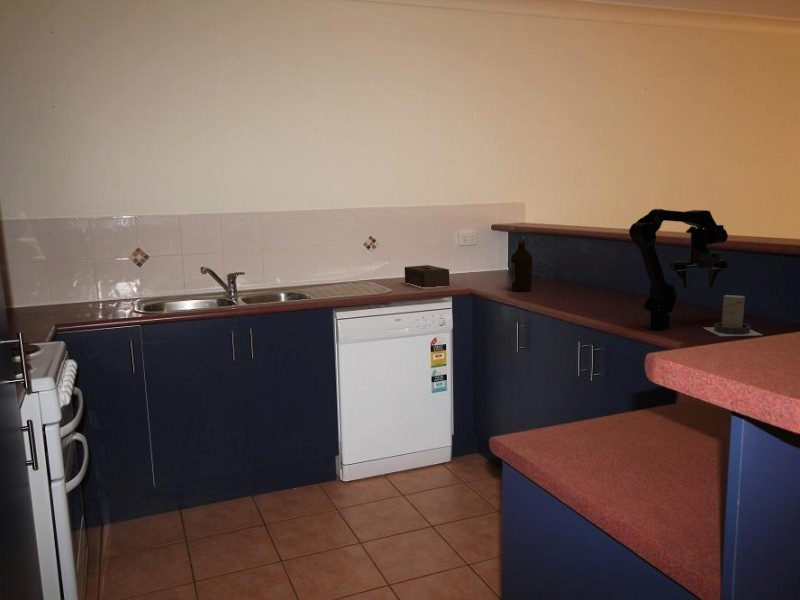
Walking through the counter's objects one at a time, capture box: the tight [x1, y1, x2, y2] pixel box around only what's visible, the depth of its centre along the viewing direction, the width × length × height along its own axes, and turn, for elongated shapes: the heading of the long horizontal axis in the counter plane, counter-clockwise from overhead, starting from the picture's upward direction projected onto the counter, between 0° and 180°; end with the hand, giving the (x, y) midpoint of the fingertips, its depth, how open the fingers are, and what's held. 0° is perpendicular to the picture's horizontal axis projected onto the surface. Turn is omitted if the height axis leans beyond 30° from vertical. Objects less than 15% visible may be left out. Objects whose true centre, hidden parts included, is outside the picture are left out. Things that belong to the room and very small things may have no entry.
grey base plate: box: [703, 326, 763, 337], centre depth 226 cm, size 14×14×1 cm
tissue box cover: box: [404, 264, 450, 287], centre depth 359 cm, size 26×14×10 cm, turn 23°
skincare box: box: [721, 294, 746, 328], centre depth 225 cm, size 6×4×12 cm
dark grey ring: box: [713, 321, 751, 335], centre depth 226 cm, size 11×11×2 cm
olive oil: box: [510, 240, 534, 293], centre depth 330 cm, size 11×11×25 cm
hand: (697, 288), depth 240 cm, fingers open, 9 cm apart
